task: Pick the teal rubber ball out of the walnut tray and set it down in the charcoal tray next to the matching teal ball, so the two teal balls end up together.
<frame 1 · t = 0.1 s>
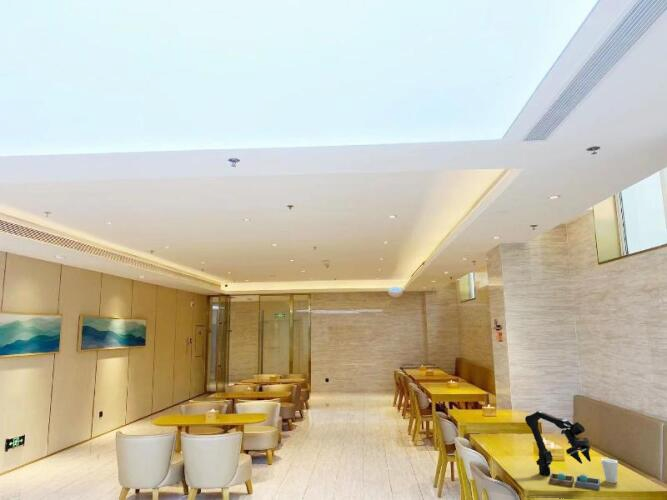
hand: (586, 462, 298), 15 cm above the table, tool tilted 30°, fingers open, 9 cm apart
charcoal tray: (588, 485, 299), on the table
foam cup: (611, 481, 307), on the table
walnut tray: (562, 482, 305), on the table
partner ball: (583, 478, 303), point 3 cm above the table, touching charcoal tray
teal ball: (561, 477, 305), point 3 cm above the table, touching walnut tray
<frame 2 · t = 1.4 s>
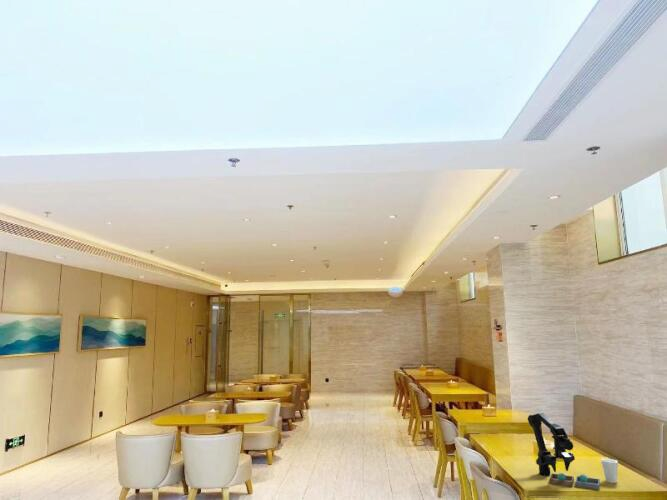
hand: (561, 471, 306), 7 cm above the table, tool pointing down, fingers open, 9 cm apart
nothing on the table moved.
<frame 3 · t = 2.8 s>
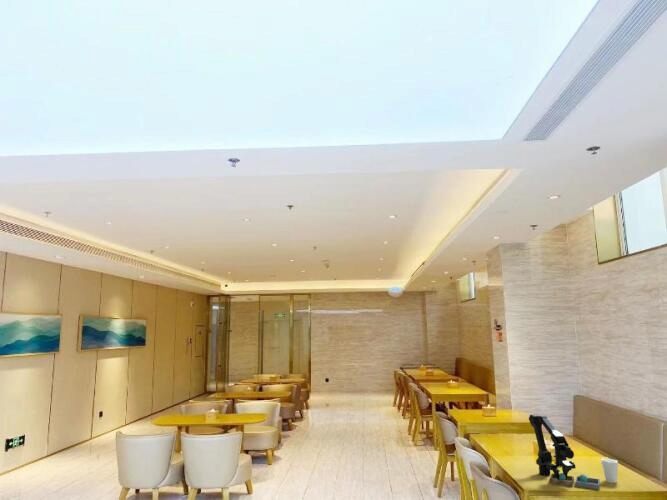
hand: (561, 479, 305), 2 cm above the table, tool pointing down, fingers closed on teal ball, 5 cm apart
teal ball: (561, 477, 305), point 3 cm above the table, touching gripper, walnut tray
everything else where it was.
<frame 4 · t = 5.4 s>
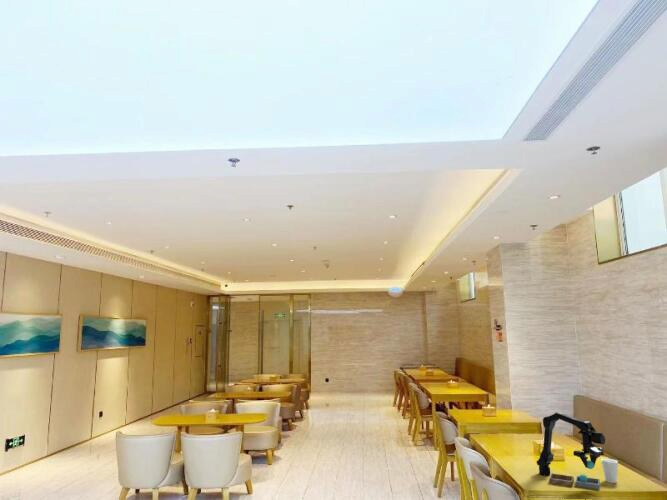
hand: (589, 467, 297), 12 cm above the table, tool pointing down, fingers closed on teal ball, 5 cm apart
teal ball: (589, 464, 298), point 13 cm above the table, touching gripper
everything else where it was.
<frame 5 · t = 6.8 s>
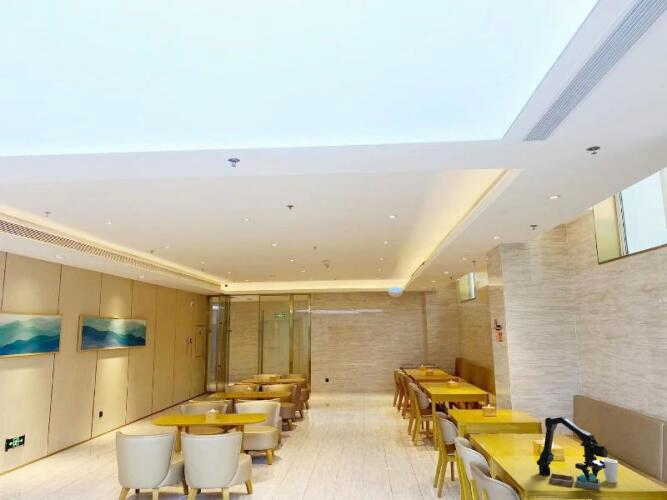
hand: (591, 480, 296), 4 cm above the table, tool pointing down, fingers closed on teal ball, 5 cm apart
teal ball: (591, 477, 296), point 6 cm above the table, touching gripper
everything else where it was.
when the fingers open (3 cm above the table, at t = 7.8 s): teal ball drops 2 cm, resting on charcoal tray.
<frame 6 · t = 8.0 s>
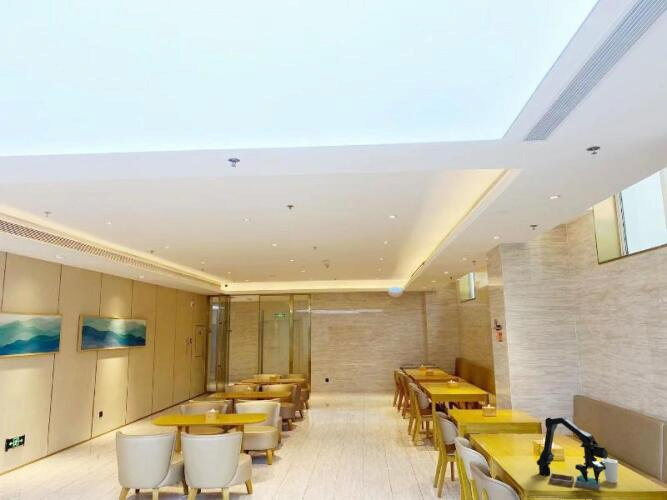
hand: (591, 481, 296), 3 cm above the table, tool pointing down, fingers open, 7 cm apart
teal ball: (591, 481, 296), point 3 cm above the table, touching charcoal tray
everything else where it was.
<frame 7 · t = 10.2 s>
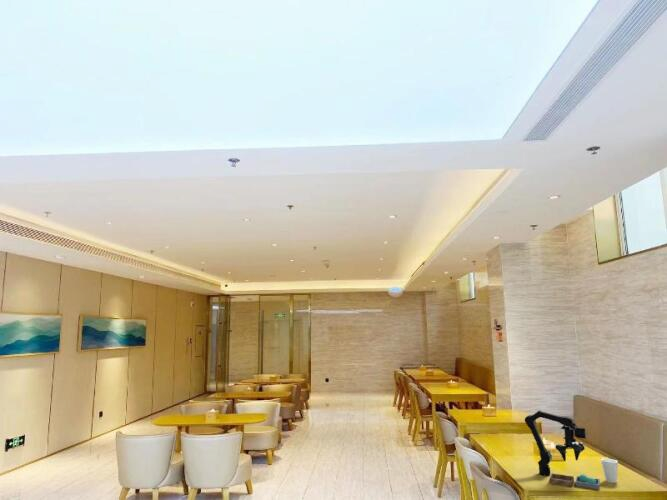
hand: (570, 460, 313), 12 cm above the table, tool pointing down, fingers open, 9 cm apart
nothing on the table moved.
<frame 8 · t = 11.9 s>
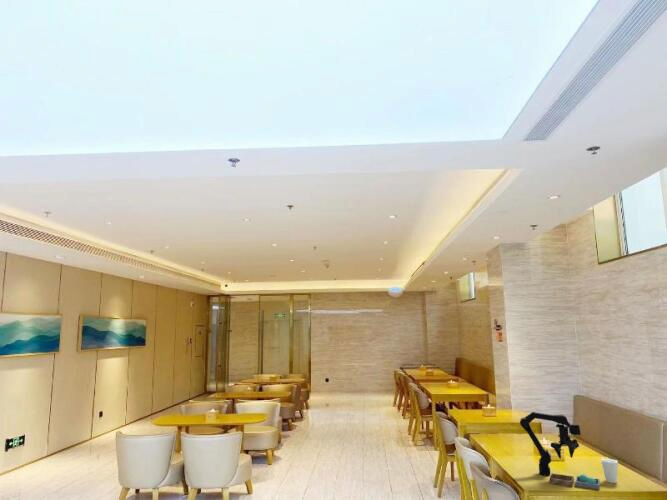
hand: (565, 458, 318), 12 cm above the table, tool pointing down, fingers open, 9 cm apart
nothing on the table moved.
at the end: teal ball inside the target area on the charcoal tray (3.5 cm from its centre), point 3.1 cm above the charcoal tray's base; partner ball inside the target area on the charcoal tray (3.5 cm from its centre), point 3.1 cm above the charcoal tray's base; the gripper is holding nothing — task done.
